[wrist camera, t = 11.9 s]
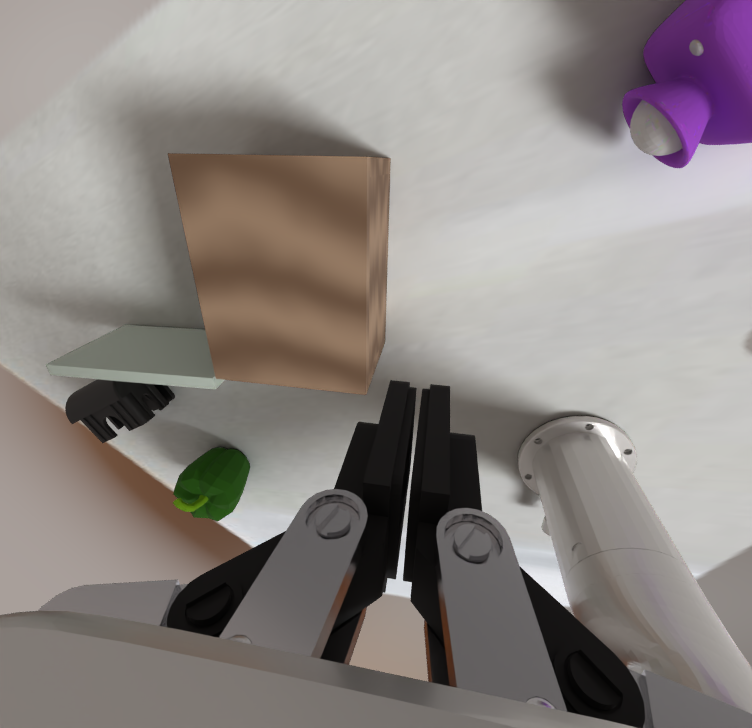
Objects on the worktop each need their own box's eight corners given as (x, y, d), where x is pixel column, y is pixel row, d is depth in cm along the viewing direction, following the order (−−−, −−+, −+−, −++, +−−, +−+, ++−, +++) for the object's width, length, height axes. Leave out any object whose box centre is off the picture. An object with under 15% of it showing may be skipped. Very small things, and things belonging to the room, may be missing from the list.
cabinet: (384, 342, 42) (366, 394, 33) (266, 331, 44) (215, 378, 35) (390, 158, 34) (367, 156, 24) (243, 155, 36) (167, 153, 26)
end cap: (143, 352, 49) (102, 378, 43) (179, 395, 51) (144, 425, 45) (97, 378, 52) (52, 405, 47) (132, 417, 55) (94, 448, 49)
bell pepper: (270, 473, 55) (236, 531, 47) (229, 486, 58) (190, 543, 49) (235, 429, 52) (192, 483, 44) (194, 446, 55) (146, 499, 47)
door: (262, 333, 44) (212, 378, 35) (265, 351, 45) (218, 400, 36) (125, 324, 47) (45, 364, 37) (131, 342, 48) (55, 385, 39)
